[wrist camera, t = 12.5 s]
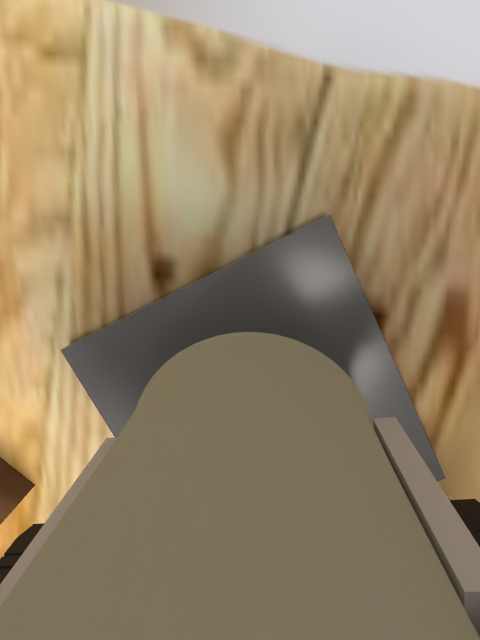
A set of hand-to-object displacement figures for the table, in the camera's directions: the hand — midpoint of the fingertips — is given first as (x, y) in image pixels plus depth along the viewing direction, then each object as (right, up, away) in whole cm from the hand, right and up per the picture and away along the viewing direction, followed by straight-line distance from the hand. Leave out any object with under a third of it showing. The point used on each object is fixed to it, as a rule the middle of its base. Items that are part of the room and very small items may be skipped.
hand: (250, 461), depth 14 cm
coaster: (0, +1, +4) cm, 4 cm away
